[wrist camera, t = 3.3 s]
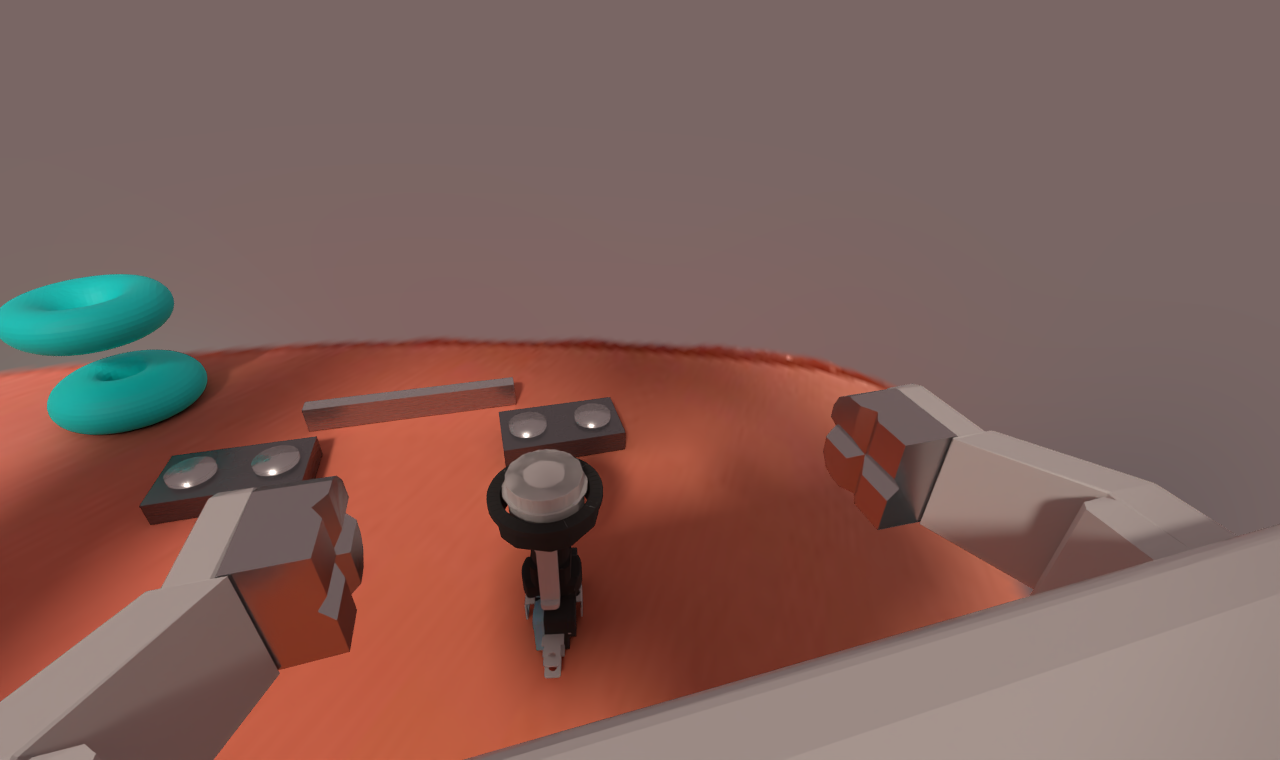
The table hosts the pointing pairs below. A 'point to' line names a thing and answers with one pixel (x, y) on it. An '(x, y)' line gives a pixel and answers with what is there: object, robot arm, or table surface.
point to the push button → (548, 538)
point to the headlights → (299, 459)
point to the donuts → (97, 322)
